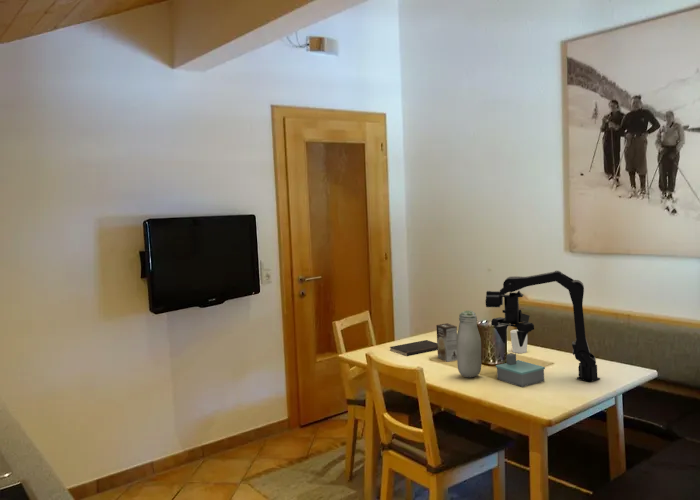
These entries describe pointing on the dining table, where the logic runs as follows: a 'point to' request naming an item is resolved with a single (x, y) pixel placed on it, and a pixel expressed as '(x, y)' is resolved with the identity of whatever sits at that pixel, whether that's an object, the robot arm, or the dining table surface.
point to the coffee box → (447, 342)
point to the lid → (518, 365)
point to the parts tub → (520, 377)
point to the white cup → (517, 343)
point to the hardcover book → (415, 348)
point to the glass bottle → (468, 345)
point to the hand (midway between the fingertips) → (512, 344)
